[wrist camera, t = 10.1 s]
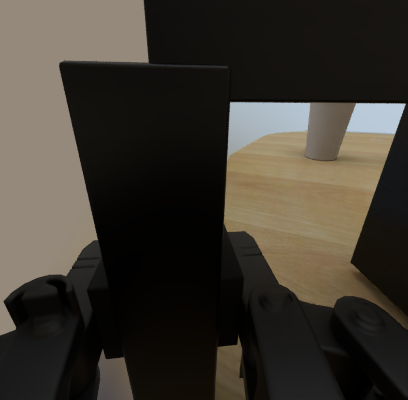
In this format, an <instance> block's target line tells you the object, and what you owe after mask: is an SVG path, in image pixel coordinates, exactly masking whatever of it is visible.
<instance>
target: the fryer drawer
mask: <svg viewBox="0 0 408 400" xmlns="http://www.w3.org/2000/svg"><path fill="white" fill-rule="evenodd" d="M144 10H145V21H146V35H147V47H148V59H149V63H137V62H135V63H134V62H97V61H63V62H61V63H60V65H59V68H60V73H61V77H62V82H63V86H64V91H65V95H66V99H67V104H68V108H69V113H70V117H71V122H72V126H73V131H74V135H75V139H76V144H77V148H78V153H79V157H80V162H81V166H82V171H83V175H84V180H85V184H86V189H87V193H88V197H89V202H90V207H91V211H92V215H93V220H94V224H95V228H96V233H97V238H98V242H99V247H100V251H101V256H102V260H103V265H104V269H105V273H106V278H107V282H108V287H109V291H110V296H111V300H112V305H113V309H114V314H115V318H116V323H117V327H118V331H119V336H120V340H121V345H122V349H123V354H124V358H125V362H126V367H127V371H128V376H129V380H130V385H131V389H132V394H133V398H134V400H215V383H216V364H217V344H218V325H219V306H220V286H221V267H222V248H223V228H224V209H225V189H226V170H227V150H228V130H229V112H230V102H276V103H278V102H280V103H286V102H287V103H404V104H406V105H405V108H404V111H403V114H402V117H401V119H400V122H399V125H398V128H397V131H396V133H395V136H394V139H393V142H392V145H391V148H390V151H389V153H388V156H387V159H386V162H385V165H384V168H383V171H382V173H381V176H380V179H379V182H378V185H377V188H376V191H375V193H374V196H373V199H372V202H371V205H370V208H369V211H368V213H367V216H366V219H365V222H364V225H363V228H362V231H361V233H360V236H359V239H358V242H357V245H356V248H355V250H354V253H353V256H352V259H351V263H352V264H353V265H354V266H355V267H356V268H357V269H358V270H359V271H360V272H361V273H362V274H363V275H364V276H366V277H367V278H368V279H369V280H370V281H371V282H372V283H373V284H374V285H375V286H376V287H377V288H378V289H379V290H380V291H381V292H382V293H384V294H385V295H386V296H387V297H388V298H389V299H390V300H391V301H392V302H393V303H394V304H395V305H396V306H397V307H398V308H399V309H401V310H402V311H403V312H404V313H405V314H406V315H407V316H408V0H144Z"/></svg>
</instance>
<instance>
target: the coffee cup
mask: <svg viewBox="0 0 408 400" xmlns="http://www.w3.org/2000/svg"><path fill="white" fill-rule="evenodd" d="M355 104H356V103H310V115H309V124H308V132H307V142H306V151H305V156H306V157H307V158H310V159H315V160H324V161H331V160H335V159H336V157H337V155H338V152H339V149H340V146H341V143H342V141H343V138H344V135H345V132H346V129H347V126H348V123H349V121H350V118H351V115H352V113H353V110H354V107H355Z"/></svg>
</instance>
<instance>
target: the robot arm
mask: <svg viewBox="0 0 408 400" xmlns="http://www.w3.org/2000/svg"><path fill="white" fill-rule="evenodd" d="M4 304H5V306H6V308H7V310H8V312H9V314H10V316H11V318H12V320H13V322H14V324H15V326H16V330H14V331H11V332H9V333H6V334H3V335H1V336H0V400H97V395H98V389H99V383H100V370H99V367H98V362H99V359H100V355H101V352H102V349H103V350H104V354H105V358H106V359H112V358H121V357H124V354H123V349H122V345H121V340H120V336H119V331H118V327H117V323H116V318H115V314H114V309H113V305H112V300H111V296H110V291H109V287H108V282H107V278H106V273H105V269H104V265H103V260H102V256H101V251H100V247H99V242H98V240H95V241H93V242H91V243H90V244H89V245H88V246H86V247H85V248H84V249H83V250H82V252H81V253H80V255H79V257H78V258H77V261H76V262H75V263H74V265H73V266H72V269H71V270H70V272H69V273H68V275H67V276H63V275H48V276H43V277H39V278H36V279H34V280H32V281H30V282H28V283H25V284H24V285H22V286H21V287H19V288H18V289H16V290H15V291H13V292H12V293H11V294H10V295H9V296H8V297H7V298H6V299H5V300H4ZM238 335H239V339H240V342H241V346H242V356H241V364H240V375H239V378H243V379H244V387H245V395H246V400H408V330H406V329H405V328H404V327H403V326H402V325H401V324H400V323H399V322H397V321H396V320H395V319H394V318H393V317H392V316H391V315H390V314H388V313H387V312H386V311H385V310H383V309H382V308H380V307H379V306H378V305H376V304H374V303H372V302H370V301H368V300H366V299H363V298H359V297H355V296H344V297H342V298H339V299H337V301H336V303H335V305H334V308H331V307H326V306H320V305H315V304H310V303H306V302H303V301H300V300H299V299H298V298H297V297H296V295H295V294H294V293H293V292H292V291H290V290H289V289H288V288H287V287H284V286H282V285H280V284H279V283H278V281H277V279H276V278H275V276H274V274H273V272H272V270H271V269H270V267H269V265H268V263H267V261H266V260H265V258H264V256H263V255H262V252H261V251H260V249H259V248H258V245H257V243H256V242H255V240H254V238H253V237H252V236H250V235H249V234H248V233H246V232H245V231H242V232H227V230H226V228H225V225H224V228H223V248H222V267H221V286H220V306H219V325H218V344H217V347H221V346H230V345H237V342H238Z"/></svg>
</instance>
